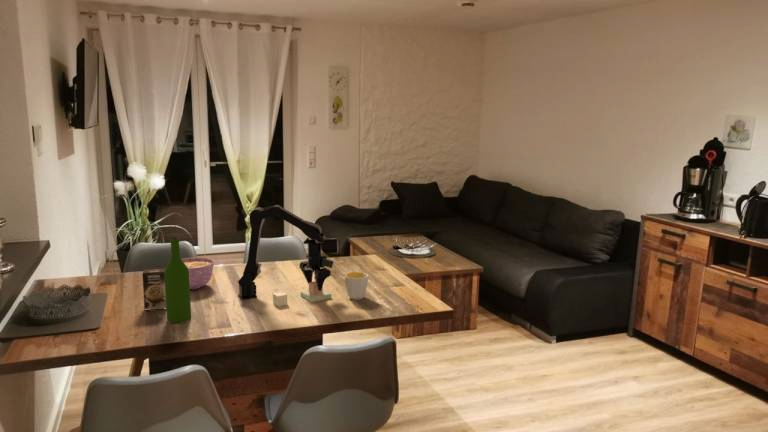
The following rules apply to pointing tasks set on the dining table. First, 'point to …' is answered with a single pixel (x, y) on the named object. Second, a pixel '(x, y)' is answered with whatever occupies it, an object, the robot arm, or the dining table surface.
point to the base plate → (315, 296)
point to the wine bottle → (177, 287)
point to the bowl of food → (199, 271)
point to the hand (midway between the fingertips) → (315, 287)
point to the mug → (356, 285)
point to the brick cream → (280, 299)
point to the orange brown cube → (314, 288)
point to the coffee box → (154, 288)
